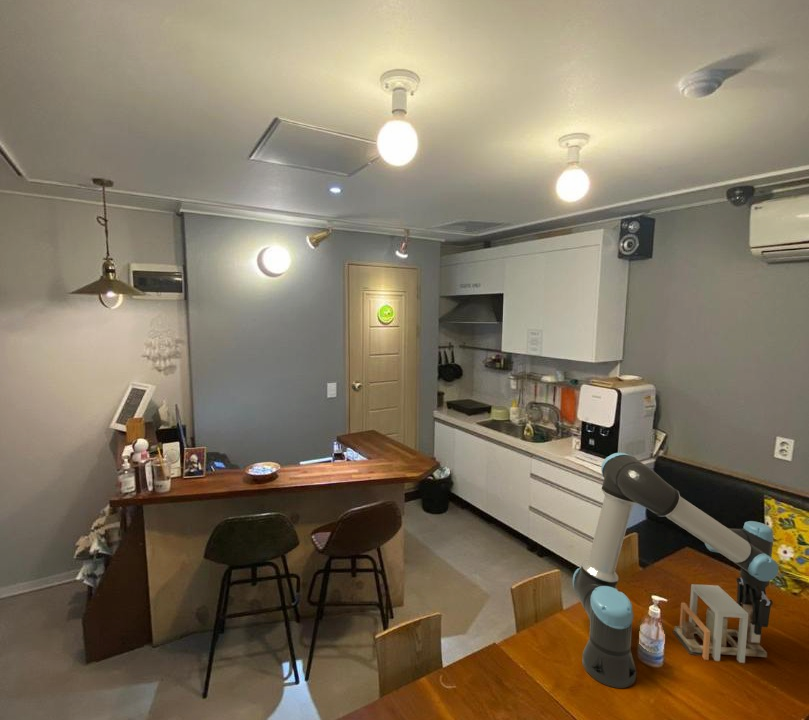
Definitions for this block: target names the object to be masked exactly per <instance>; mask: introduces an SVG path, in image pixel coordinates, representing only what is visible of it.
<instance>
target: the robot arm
mask: <svg viewBox="0 0 809 720" xmlns="http://www.w3.org/2000/svg"><path fill="white" fill-rule="evenodd" d="M600 468H601V469H600V470H601V475H602V477H603V481H602V486H601V491H602V493H603V494H604V498H603V502H602V506H601V509H600V514H599V518H598V521H597V524H596V529H595V533H594V535H593V536H594V537H593V541H592V544H591V548H590V552H589V555H588V559H587V560H584V561H583V562H582V563H581V566H580V567H579V568H577V569H575V571H574V573H573V575H572V586H573V589H574V593H575V595H576V597H577V598H578V600H579V602H580V604H581V606H582V607H583V609H584V610H585V614H587V616H588V619H589V637H588V640H587V642H586V644H585V645H584V649H583V651H582V657H581V658H582V660H581V662H582V666H583V668H584V670H585V671H586V673H588V675H589V676H590V677H592V678H593V679H594V680H595V681H597V682H598V683H601V684H603V685H605V686H608V687H611V688H616V689H617V688H618V689H624V688H628V687H631V686H633V684H635V682H636V677H637V669H636V664H635V661H634V658H633V655H632V651H631V646H632V632H633V620H634V613H633V612H634V611H633V604H632V602H631V600H630V599H629V597H628V596H627V595H626V594H625V593H623V592H622V591H619V590H618V588H617V585H618V581H619V575H618V574H617V572H616V569H617V565H618V561H619V558H620V554H621V552H622V551H621V550H622V546H623V542H624V539H625V536H626V531H627V528H628V524H629V522H630V521H629V520H630V516H631V512H632V509H633V506H634V505H636V504H638V505H639V506H642V507H643V508H645V509H647V510H649V511H650V512H652V513H653V514H655V515H656V516H657V517H666V518H667V519H668V520H670V521H672V522H673V523H674V524H676V525H677V526H679V527H680V528H682V529H684V530H686V531H687V532H688V533H689V534H691V535H692V536H694V537H695V538H697V539H699V540H700V541H701V542H703V543H704V545H705V547H706V549H707V550H708V551H710V552H712V553H717V554H721V555H722V556H724V557H726V559H728V560H729V561H732V563H734V564H735V565H737V566H739V567H740V573H739V575H740V577H736V583H737V587H736V588H737V589H736V591H737V592H736V603H737V604H739V605H740V606H741V607H742V608H743V604H748V605H752V609H753V622H751V628H750V642H756V643H759V644H760V643H761V635H762V628H768V627H769V622H770V613H771V607H772V606H773V600H772V599H769V598H768V597H767V591H766V588H768V587H769V586H770V582H771V581H773V580H775V579H776V577H777V576H778V574H779V565H778V563H777V562H776V560H775V559H773V558H772V555H773V546H774V531H773V529H772V528H771V526H768V525H767V524H765V523H762V522H758V521H754V520H749V521H745V522H744V525H743V528H729V527H727V526H725V525H723V524H722V523H721V522H719V521H718V520H716V519H715V518H714V517H712V516H710V515H709V514H708V513H706V512H705V511H703V510H702V509H699V508H698V507H696V506H695V505H693V504H692V503H691V502H689V501H688V500H686V499H685V498H683V496H681V495H680V491H679V490H678V489H676V488H675V487H673V486H672V485H671V484H669V483H668V482H667V481H665V480H664V478H662V477H661V476H660V475H659V474H658V473H656V472H655V471H654V470H653V469H652V468H650V467H649V466H648V465H646V464H644V463H643V462H641V461H640V460H639V459H637V458H636V457H635V456H633V455H631V454H628V453H625V452H615V453H612V454H610V455H609V456H606V457H605V459H604V460H603V461H602V463H601V466H600Z"/></svg>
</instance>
